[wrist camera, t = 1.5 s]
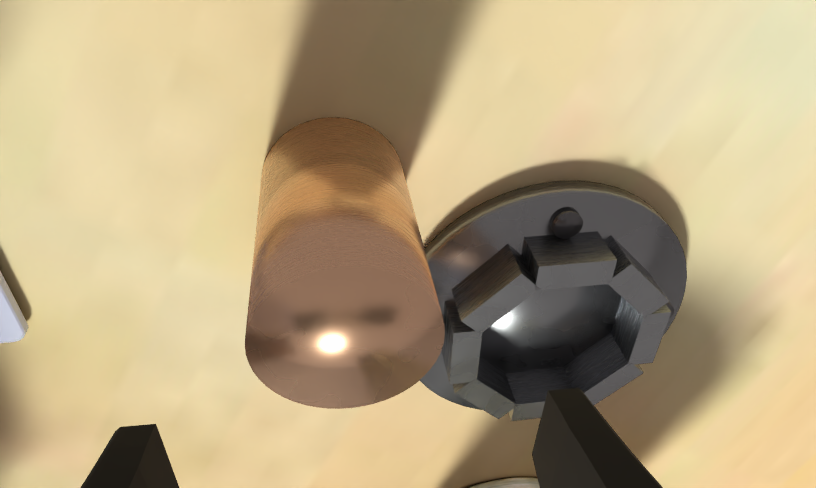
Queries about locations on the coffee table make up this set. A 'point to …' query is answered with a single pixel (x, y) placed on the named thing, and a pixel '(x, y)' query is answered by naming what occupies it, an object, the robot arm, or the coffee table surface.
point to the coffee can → (510, 483)
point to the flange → (551, 296)
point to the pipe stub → (339, 271)
